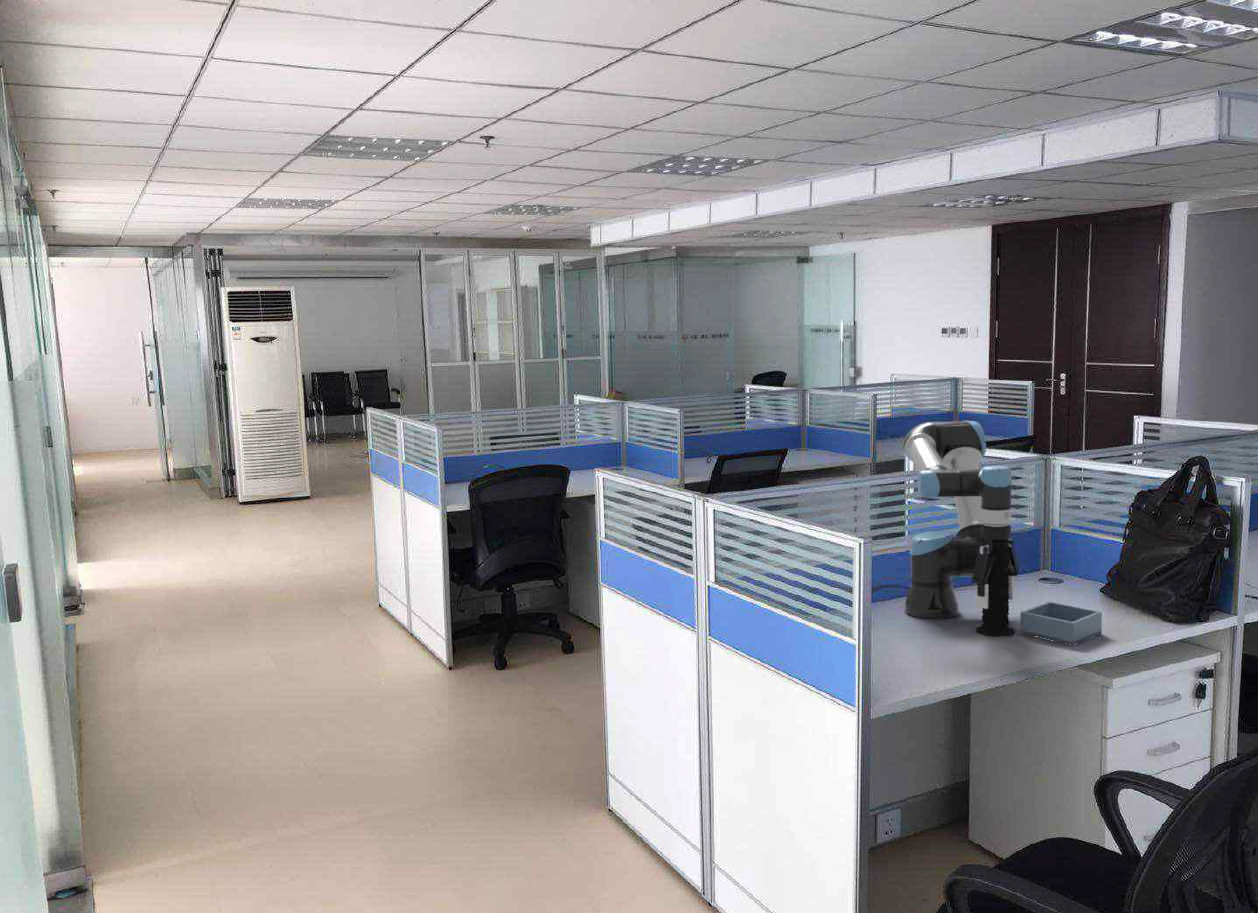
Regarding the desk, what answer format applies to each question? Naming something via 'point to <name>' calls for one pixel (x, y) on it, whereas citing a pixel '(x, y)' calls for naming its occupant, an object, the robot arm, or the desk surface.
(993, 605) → the handle grip
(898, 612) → the desk surface
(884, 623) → the desk surface
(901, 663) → the desk surface
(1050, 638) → the box
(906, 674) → the desk surface
